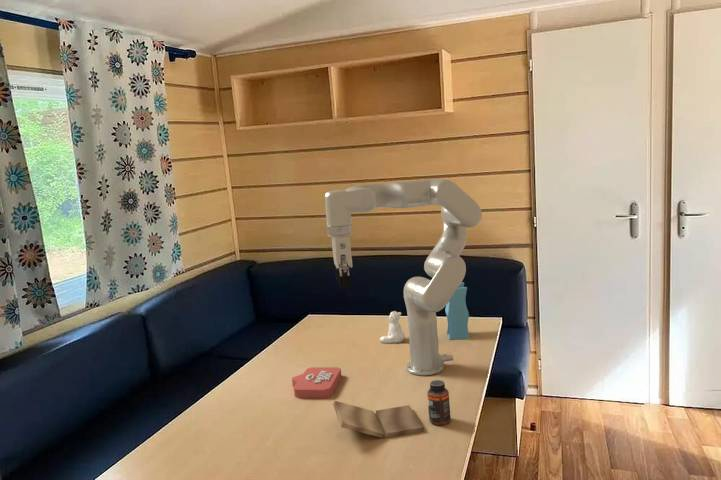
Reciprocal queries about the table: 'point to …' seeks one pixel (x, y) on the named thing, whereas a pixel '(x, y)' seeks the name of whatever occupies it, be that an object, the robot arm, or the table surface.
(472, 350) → the table surface
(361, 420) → the plank
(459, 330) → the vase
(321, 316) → the table surface
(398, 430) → the brown wooden board
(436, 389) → the supplement bottle
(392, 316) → the white creature statuette
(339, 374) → the plaque
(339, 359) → the table surface
